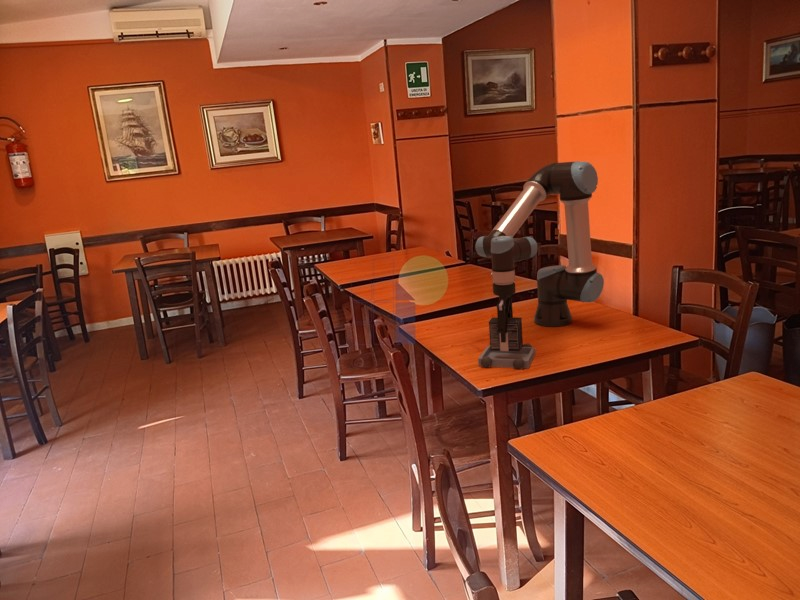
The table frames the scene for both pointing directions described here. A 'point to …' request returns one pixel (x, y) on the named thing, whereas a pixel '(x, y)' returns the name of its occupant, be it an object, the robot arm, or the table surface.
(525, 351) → the chassis bay
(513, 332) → the small box
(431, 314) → the table surface
